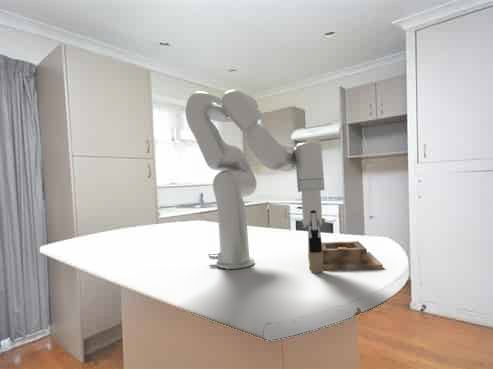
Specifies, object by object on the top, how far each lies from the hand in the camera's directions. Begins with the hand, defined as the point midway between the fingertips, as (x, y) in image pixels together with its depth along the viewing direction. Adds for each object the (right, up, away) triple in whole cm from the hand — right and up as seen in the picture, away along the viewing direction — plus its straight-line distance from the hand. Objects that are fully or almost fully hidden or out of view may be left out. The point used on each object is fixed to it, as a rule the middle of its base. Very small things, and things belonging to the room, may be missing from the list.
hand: (315, 249), depth 82 cm
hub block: (+10, -6, +8) cm, 14 cm away
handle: (0, -6, 0) cm, 6 cm away
